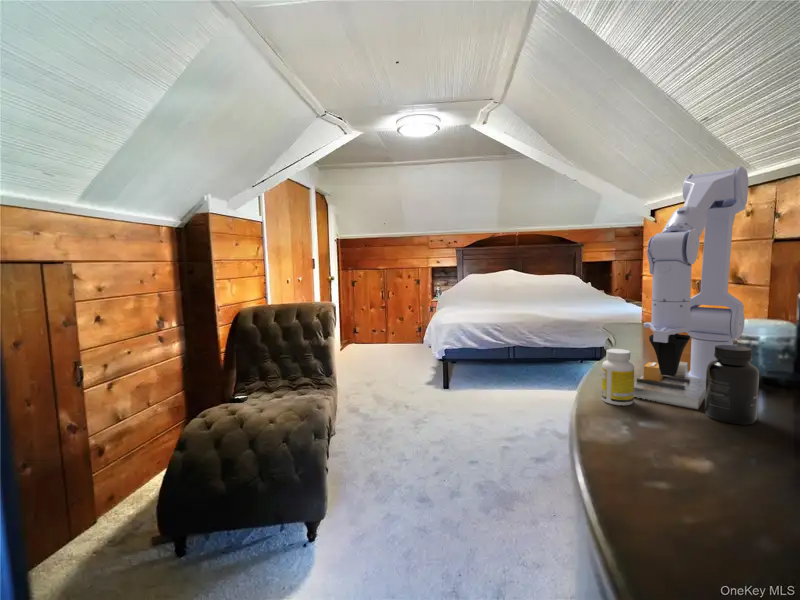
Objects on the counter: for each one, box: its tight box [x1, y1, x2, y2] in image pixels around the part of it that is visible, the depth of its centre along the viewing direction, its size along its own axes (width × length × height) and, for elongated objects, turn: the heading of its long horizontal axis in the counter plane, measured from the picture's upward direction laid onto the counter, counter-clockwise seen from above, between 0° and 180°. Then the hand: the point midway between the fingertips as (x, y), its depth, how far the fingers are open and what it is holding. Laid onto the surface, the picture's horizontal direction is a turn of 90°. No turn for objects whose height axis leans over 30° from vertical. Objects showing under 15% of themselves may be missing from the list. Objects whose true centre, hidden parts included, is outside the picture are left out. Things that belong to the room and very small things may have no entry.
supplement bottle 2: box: [704, 344, 760, 426], centre depth 68 cm, size 7×7×12 cm
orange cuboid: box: [643, 361, 663, 382], centre depth 83 cm, size 4×2×3 cm, turn 136°
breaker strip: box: [634, 361, 706, 410], centre depth 81 cm, size 14×11×5 cm
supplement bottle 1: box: [601, 348, 635, 407], centre depth 77 cm, size 5×5×10 cm
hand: (668, 374), depth 74 cm, fingers closed
